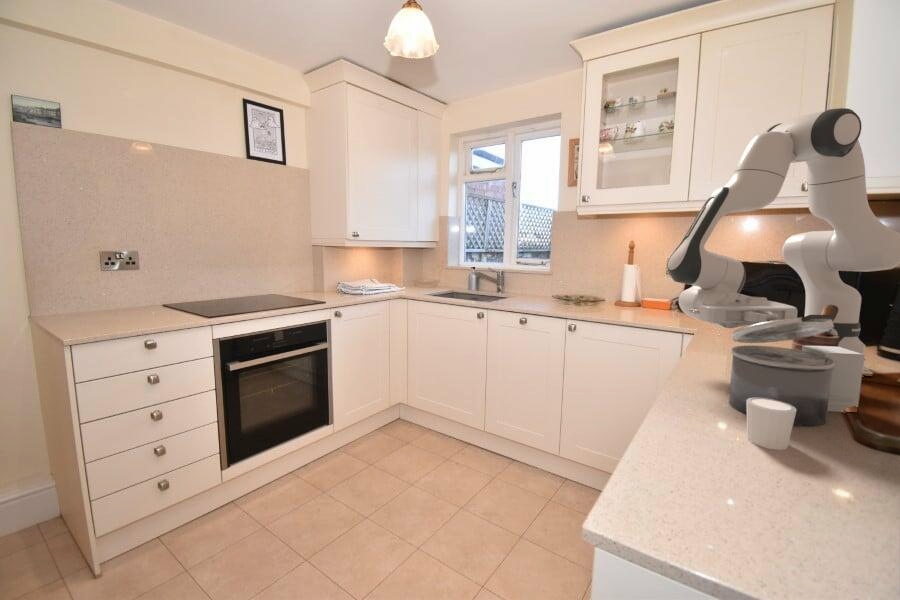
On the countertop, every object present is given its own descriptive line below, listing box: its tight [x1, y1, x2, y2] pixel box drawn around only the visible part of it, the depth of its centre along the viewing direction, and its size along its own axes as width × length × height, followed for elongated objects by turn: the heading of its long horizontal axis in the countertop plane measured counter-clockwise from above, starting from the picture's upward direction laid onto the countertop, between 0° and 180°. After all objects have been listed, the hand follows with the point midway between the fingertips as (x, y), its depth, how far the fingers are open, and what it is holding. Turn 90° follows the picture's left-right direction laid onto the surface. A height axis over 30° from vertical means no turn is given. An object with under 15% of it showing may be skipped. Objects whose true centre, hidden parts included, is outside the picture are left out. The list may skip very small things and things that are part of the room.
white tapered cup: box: [746, 398, 796, 451], centre depth 70 cm, size 7×7×7 cm
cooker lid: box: [731, 315, 834, 344], centre depth 84 cm, size 20×17×2 cm
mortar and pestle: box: [791, 305, 839, 351], centre depth 101 cm, size 12×9×20 cm
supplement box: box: [802, 346, 865, 413], centre depth 87 cm, size 7×7×13 cm
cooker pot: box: [728, 344, 835, 428], centre depth 84 cm, size 17×17×12 cm
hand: (771, 319), depth 86 cm, fingers closed
